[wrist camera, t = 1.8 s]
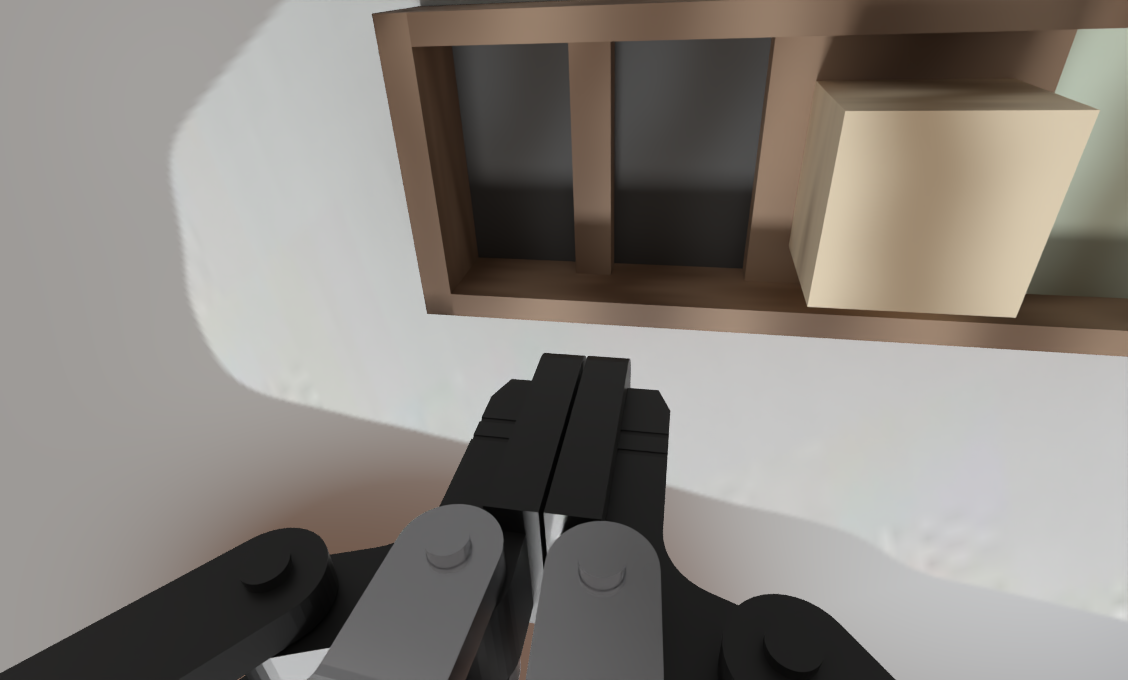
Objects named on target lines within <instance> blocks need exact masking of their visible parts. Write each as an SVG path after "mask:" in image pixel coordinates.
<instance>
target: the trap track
mask: <svg viewBox="0 0 1128 680" xmlns="http://www.w3.org/2000/svg"><path fill="white" fill-rule="evenodd" d="M372 17H373V23H374V28H375V34H376V39H377V44H378V50H379V55H380V61H381V66H382V71H383V77H384V82H385V88H386V93H387V98H388V104H389V109H390V115H391V120H392V126H393V131H394V136H395V142H396V147H397V153H398V158H399V163H400V169H401V174H402V180H403V185H404V191H405V196H406V201H407V207H408V212H409V218H410V223H411V228H412V234H413V239H414V245H415V250H416V255H417V261H418V266H419V272H420V277H421V283H422V288H423V293H424V299H425V304H426V310H427V314H440V315H457V316H473V317H489V318H506V319H522V320H538V321H555V322H571V323H587V324H604V325H620V326H636V327H653V328H669V329H685V330H702V331H718V332H734V333H751V334H767V335H784V336H800V337H816V338H833V339H849V340H865V341H882V342H898V343H914V344H931V345H947V346H963V347H980V348H996V349H1012V350H1029V351H1045V352H1061V353H1078V354H1094V355H1110V356H1127V357H1128V0H567V1H542V2H516V3H491V4H466V5H440V6H418V7H412V8H406V9H399V10H393V11H386V12H380V13H373V14H372ZM991 78H1015V79H1018V80H1020V81H1023V82H1026V83H1029V84H1031V85H1034V86H1037V87H1039V88H1042V89H1045V90H1047V91H1050V92H1053V93H1056V94H1058V95H1061V96H1064V97H1066V98H1069V99H1072V100H1074V101H1077V102H1080V103H1083V104H1085V105H1088V106H1091V107H1093V108H1096V109H1099V110H1100V112H1099V114H1098V117H1097V119H1096V122H1095V124H1094V126H1093V129H1092V131H1091V134H1090V136H1089V139H1088V141H1087V144H1086V146H1085V149H1084V151H1083V154H1082V156H1081V159H1080V161H1079V163H1078V166H1077V168H1076V171H1075V173H1074V176H1073V178H1072V181H1071V183H1070V186H1069V188H1068V191H1067V193H1066V195H1065V198H1064V200H1063V203H1062V205H1061V208H1060V210H1059V213H1058V215H1057V218H1056V220H1055V223H1054V225H1053V227H1052V230H1051V232H1050V235H1049V237H1048V240H1047V242H1046V245H1045V247H1044V250H1043V252H1042V255H1041V257H1040V259H1039V262H1038V264H1037V267H1036V269H1035V272H1034V274H1033V277H1032V279H1031V282H1030V284H1029V287H1028V289H1027V291H1026V294H1025V296H1024V299H1023V301H1022V304H1021V306H1020V309H1019V311H1018V314H1017V316H1016V318H1012V317H993V316H974V315H954V314H935V313H916V312H897V311H878V310H859V309H840V308H821V307H807V304H806V301H805V298H804V294H803V291H802V288H801V284H800V281H799V278H798V275H797V271H796V268H795V265H794V262H793V258H792V255H791V252H790V249H789V241H790V235H791V229H792V223H793V217H794V211H795V205H796V199H797V193H798V187H799V181H800V175H801V169H802V163H803V157H804V151H805V145H806V139H807V133H808V127H809V120H810V114H811V108H812V102H813V96H814V90H815V84H816V81H840V80H915V79H991Z"/></svg>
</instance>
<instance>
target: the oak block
mask: <svg viewBox="0 0 1128 680" xmlns="http://www.w3.org/2000/svg"><path fill="white" fill-rule="evenodd" d="M1099 112H1100V110H1099V109H1096V108H1093V107H1091V106H1088V105H1085V104H1083V103H1080V102H1077V101H1074V100H1072V99H1069V98H1066V97H1064V96H1061V95H1058V94H1056V93H1053V92H1050V91H1047V90H1045V89H1042V88H1039V87H1037V86H1034V85H1031V84H1029V83H1026V82H1023V81H1020V80H1018V79H1015V78H991V79H915V80H840V81H816V84H815V90H814V96H813V102H812V108H811V114H810V120H809V127H808V133H807V139H806V145H805V151H804V157H803V163H802V169H801V175H800V181H799V187H798V193H797V199H796V205H795V211H794V217H793V223H792V229H791V235H790V241H789V249H790V252H791V255H792V258H793V262H794V265H795V268H796V271H797V275H798V278H799V281H800V284H801V288H802V291H803V294H804V298H805V301H806V304H807V307H821V308H840V309H859V310H878V311H897V312H916V313H935V314H954V315H974V316H993V317H1012V318H1016V316H1017V314H1018V311H1019V309H1020V306H1021V304H1022V301H1023V299H1024V296H1025V294H1026V291H1027V289H1028V287H1029V284H1030V282H1031V279H1032V277H1033V274H1034V272H1035V269H1036V267H1037V264H1038V262H1039V259H1040V257H1041V255H1042V252H1043V250H1044V247H1045V245H1046V242H1047V240H1048V237H1049V235H1050V232H1051V230H1052V227H1053V225H1054V223H1055V220H1056V218H1057V215H1058V213H1059V210H1060V208H1061V205H1062V203H1063V200H1064V198H1065V195H1066V193H1067V191H1068V188H1069V186H1070V183H1071V181H1072V178H1073V176H1074V173H1075V171H1076V168H1077V166H1078V163H1079V161H1080V159H1081V156H1082V154H1083V151H1084V149H1085V146H1086V144H1087V141H1088V139H1089V136H1090V134H1091V131H1092V129H1093V126H1094V124H1095V122H1096V119H1097V117H1098V114H1099Z"/></svg>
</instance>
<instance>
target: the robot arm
mask: <svg viewBox="0 0 1128 680" xmlns="http://www.w3.org/2000/svg"><path fill="white" fill-rule="evenodd" d="M630 377H631V362H630V359H626V358H611V357H597V356H588V357H587V359H586V356H580V355H566V354H551V353H544V354H543V355H542V357H541V359H540V361H539V364H538V366H537V369H536V372H535V374H534V377H533V379H532V381H530V380H517V379H511V380H510V381H509V382H508V383H507V384H505V385H504V386H503V387H502V388H501V389H500V390H498V391H497V392H496V393H495V394H494V395H493V396H492V397H491V399H490V401H489V403H488V405H487V407H486V409H485V411H484V414H483V416H482V421H480V422H479V424H478V426H477V428H476V430H475V433H474V437H473V439H471V441H470V443H469V445H468V447H467V450H466V452H465V454H464V456H463V458H462V460H461V462H460V464H459V467H458V469H457V471H456V473H455V475H454V477H453V479H452V481H451V484H450V485H449V488H448V490H447V492H446V494H445V496H444V498H443V500H442V502H441V504H440V506H439V507H437V508H434V509H432V510H429V511H427V512H425V513H423V514H421V515H420V516H418V517H417V518H415V519H414V520H413V521H411V522H410V523H409V524H408V525H407V526H406V527H405V528H404V529H403V531H402V532H401V534H400V535H399V536H398V538H397V540H396V541H395V543H392V544H389V545H386V546H381V547H376V548H370V549H364V550H357V551H351V552H344V553H339V554H332V555H329V552H328V549H327V547H326V545H325V543H324V541H323V540H322V539H321V538H320V536H318V535H317V534H315V533H314V532H311V531H309V530H306V529H301V528H284V529H278V530H273V531H269V532H267V533H264V534H261V535H259V536H256V537H254V538H252V539H250V540H249V541H246V542H245V543H243V544H241V545H239V546H237V547H235V548H233V549H232V550H230V551H228V552H226V553H224V554H222V555H220V556H218V557H217V558H215V559H213V560H211V561H209V562H207V563H205V564H204V565H202V566H200V567H198V568H196V569H194V570H192V571H190V572H189V573H187V574H185V575H183V576H181V577H179V578H178V579H176V580H174V581H172V582H170V583H168V584H166V585H165V586H162V587H161V588H159V589H157V590H155V591H153V592H151V593H149V594H148V595H146V596H144V597H142V598H140V599H138V600H136V601H134V602H133V603H131V604H129V605H127V606H125V607H123V608H121V609H119V610H118V611H116V612H114V613H112V614H110V615H108V616H106V617H105V618H103V619H101V620H99V621H97V622H95V623H93V624H91V625H90V626H88V627H86V628H84V629H82V630H80V631H78V632H77V633H75V634H73V635H71V636H69V637H67V638H65V639H63V640H62V641H60V642H58V643H56V644H54V645H52V646H50V647H48V648H47V649H45V650H43V651H41V652H39V653H37V654H35V655H34V656H32V657H30V658H28V659H26V660H24V661H22V662H21V663H19V664H17V665H15V666H13V667H11V668H9V669H7V670H6V671H4V672H2V673H0V680H237V679H239V678H241V677H242V676H243V675H246V676H244V677H243V678H241V679H240V680H518V679H519V675H520V667H521V663H520V656H521V653H522V649H523V645H524V641H525V637H526V633H527V629H528V625H529V622H531V623H535V626H534V633H533V638H532V645H531V650H530V656H529V663H528V669H527V675H526V680H895V679H894V678H893V677H892V676H891V675H890V674H889V673H888V672H887V671H886V670H885V669H884V668H883V667H882V666H881V665H880V664H879V663H878V662H877V661H876V660H875V659H874V658H873V657H872V656H871V655H870V654H869V653H868V652H867V651H866V650H865V649H864V648H863V647H862V646H861V645H860V644H859V643H858V642H857V641H856V640H855V639H854V638H853V637H852V636H851V635H850V634H849V633H848V632H847V631H846V630H845V629H844V628H843V627H842V626H841V625H840V624H839V623H838V622H837V621H836V620H835V619H834V618H833V617H832V616H830V615H829V614H828V613H826V612H825V611H823V610H822V609H820V608H819V607H817V606H815V605H813V604H811V603H809V602H807V601H805V600H802V599H799V598H796V597H792V596H788V595H780V594H767V595H760V596H756V597H753V598H751V599H748V600H746V601H744V602H743V603H741V604H740V605H736V604H734V603H732V602H730V601H727V600H725V599H723V598H721V597H718V596H716V595H714V594H711V593H709V592H707V591H705V590H703V589H701V588H699V587H698V586H696V585H695V584H693V583H692V582H691V581H689V580H688V579H687V578H686V577H684V576H683V575H682V574H681V573H680V572H679V571H678V569H676V567H675V566H674V564H673V563H672V561H671V560H670V558H669V556H668V554H667V552H666V549H665V546H664V541H663V521H664V504H665V488H666V471H667V455H668V438H669V422H670V410H669V408H668V406H667V404H666V403H665V401H664V399H663V397H662V396H661V394H660V392H659V390H647V389H634V388H630Z"/></svg>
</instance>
